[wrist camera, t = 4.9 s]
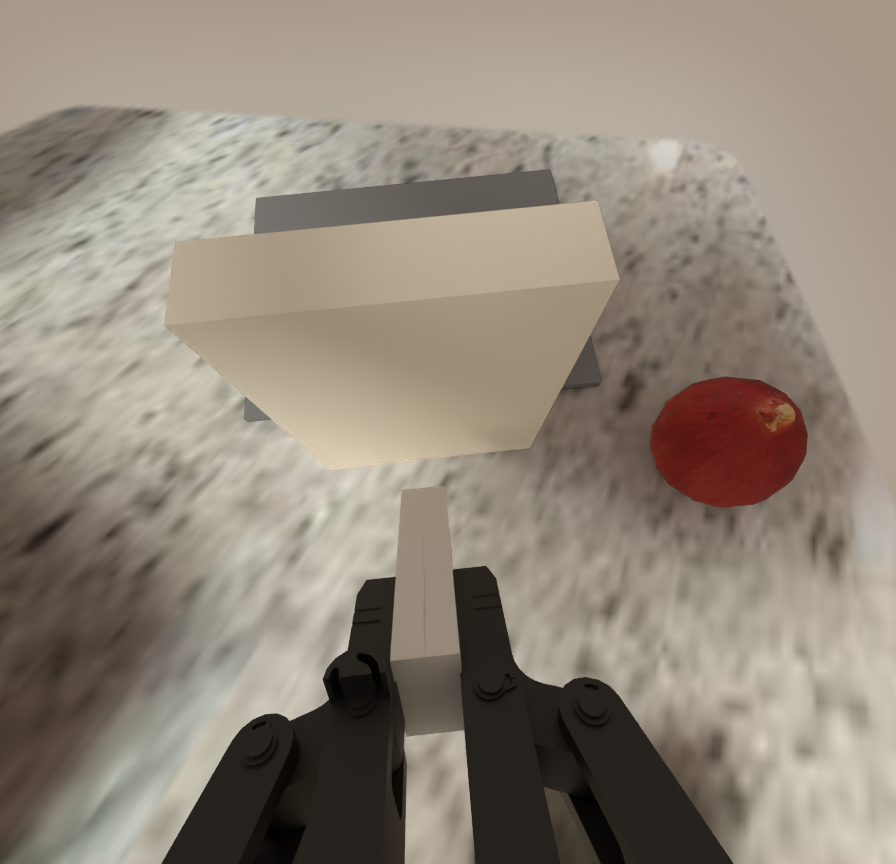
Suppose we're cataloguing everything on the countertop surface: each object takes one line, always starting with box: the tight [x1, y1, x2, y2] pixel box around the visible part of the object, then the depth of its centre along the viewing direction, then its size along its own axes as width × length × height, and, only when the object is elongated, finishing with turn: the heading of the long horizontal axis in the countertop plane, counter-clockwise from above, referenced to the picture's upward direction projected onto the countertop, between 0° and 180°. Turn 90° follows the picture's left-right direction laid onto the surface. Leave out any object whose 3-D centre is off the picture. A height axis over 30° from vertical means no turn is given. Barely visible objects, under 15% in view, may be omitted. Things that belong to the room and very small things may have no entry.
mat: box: [244, 169, 601, 422], centre depth 27 cm, size 16×20×1 cm
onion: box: [650, 377, 807, 507], centre depth 20 cm, size 6×6×8 cm
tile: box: [164, 201, 620, 469], centre depth 18 cm, size 11×3×14 cm, turn 96°
